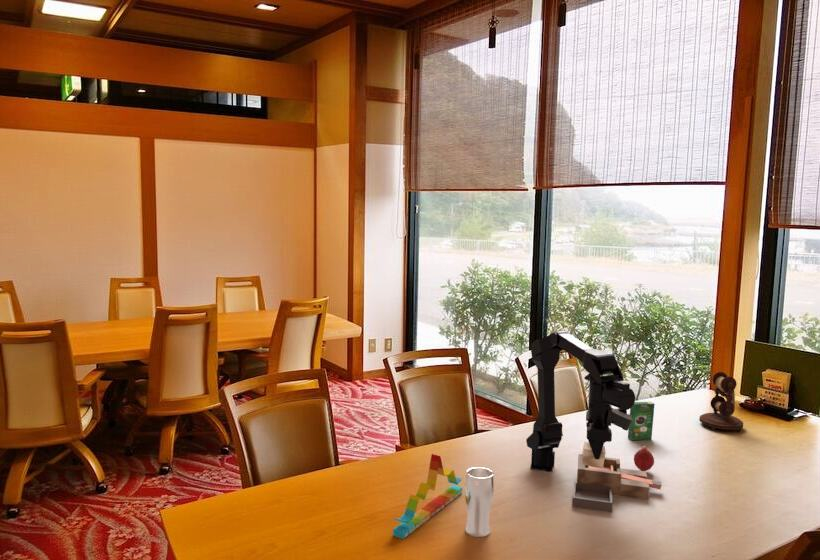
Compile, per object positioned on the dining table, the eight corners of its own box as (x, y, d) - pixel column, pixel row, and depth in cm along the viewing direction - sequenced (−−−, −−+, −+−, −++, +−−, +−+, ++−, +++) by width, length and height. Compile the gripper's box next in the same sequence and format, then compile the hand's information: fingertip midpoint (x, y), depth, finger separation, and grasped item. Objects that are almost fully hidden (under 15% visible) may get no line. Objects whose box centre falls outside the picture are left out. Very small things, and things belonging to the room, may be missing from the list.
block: (581, 464, 176) (584, 448, 175) (581, 457, 181) (584, 441, 180) (602, 468, 174) (605, 453, 174) (602, 461, 180) (604, 445, 179)
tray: (572, 506, 174) (572, 497, 174) (573, 490, 184) (573, 482, 184) (611, 512, 171) (612, 503, 171) (610, 496, 181) (611, 487, 181)
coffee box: (647, 436, 229) (650, 400, 228) (652, 439, 226) (655, 403, 225) (627, 438, 227) (629, 401, 226) (631, 441, 225) (634, 404, 223)
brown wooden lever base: (576, 490, 184) (577, 468, 183) (577, 474, 195) (578, 454, 194) (648, 500, 179) (650, 477, 178) (645, 483, 190) (646, 462, 189)
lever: (587, 475, 185) (588, 468, 185) (587, 466, 192) (589, 459, 191) (661, 492, 180) (663, 485, 180) (659, 482, 187) (660, 476, 186)
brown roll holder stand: (750, 434, 234) (755, 380, 232) (709, 433, 235) (713, 379, 232) (731, 420, 249) (735, 369, 247) (692, 419, 249) (696, 368, 247)
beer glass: (461, 524, 163) (463, 467, 161) (488, 523, 164) (491, 466, 162) (466, 538, 156) (468, 478, 154) (494, 537, 157) (497, 478, 155)
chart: (404, 540, 155) (405, 480, 154) (393, 536, 157) (394, 477, 155) (463, 494, 181) (464, 442, 179) (452, 491, 183) (454, 439, 181)
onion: (654, 476, 195) (656, 450, 194) (634, 474, 196) (636, 449, 195) (651, 469, 201) (653, 444, 200) (631, 467, 202) (633, 442, 201)
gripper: (633, 412, 164) (630, 471, 166) (628, 392, 182) (625, 446, 184) (588, 408, 167) (585, 466, 169) (587, 389, 185) (584, 442, 187)
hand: (596, 455), depth 177 cm, fingers closed on block, 5 cm apart
